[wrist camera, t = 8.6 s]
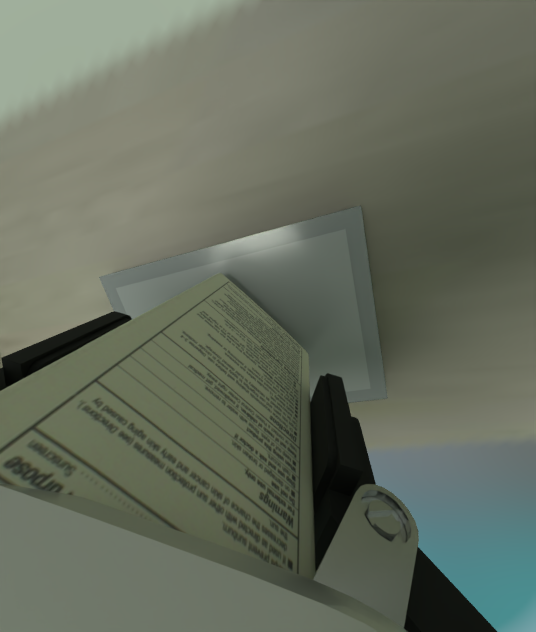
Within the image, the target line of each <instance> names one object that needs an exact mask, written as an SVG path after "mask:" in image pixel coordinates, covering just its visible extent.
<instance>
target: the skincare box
mask: <svg viewBox="0 0 536 632" xmlns="http://www.w3.org/2000/svg"><path fill="white" fill-rule="evenodd" d="M0 483H1V484H8V485H14V486H20V487H26V488H33V489H39V490H44V491H50V492H56V493H62V494H68V495H74V496H80V497H83V498H85V499H88V500H91V501H94V502H97V503H100V504H103V505H106V506H109V507H111V508H114V509H117V510H120V511H123V512H126V513H129V514H132V515H135V516H137V517H140V518H143V519H146V520H149V521H152V522H155V523H157V524H160V525H163V526H166V527H169V528H172V529H174V530H177V531H180V532H183V533H186V534H189V535H192V536H194V537H197V538H200V539H203V540H206V541H209V542H211V543H214V544H217V545H220V546H223V547H226V548H228V549H231V550H234V551H237V552H240V553H243V554H245V555H248V556H251V557H253V558H256V559H259V560H261V561H264V562H267V563H269V564H272V565H275V566H277V567H280V568H283V569H285V570H288V571H291V572H293V573H296V574H299V575H301V576H304V577H307V578H309V579H313V577H314V575H315V573H316V569H315V534H314V506H313V475H312V443H311V414H310V384H309V356H308V353H307V352H306V350H304V349H303V348H302V347H301V346H300V345H299V344H298V343H297V342H296V341H295V340H294V339H293V338H292V337H291V336H290V335H289V334H288V333H287V332H286V331H285V330H284V329H283V328H282V327H281V326H280V325H279V324H278V323H277V322H276V321H275V320H273V319H272V318H271V317H270V316H269V315H268V314H267V313H266V312H265V311H264V310H263V309H261V308H260V307H259V306H258V305H257V304H256V303H255V302H254V301H253V300H252V299H250V298H249V297H248V296H247V295H246V294H245V293H244V292H243V291H241V290H240V289H239V288H238V287H237V286H236V285H235V284H233V283H232V282H231V281H230V280H229V279H228V278H226V277H225V276H224V275H223V274H222V273H218V274H216V275H214V276H212V277H210V278H208V279H207V280H205V281H203V282H201V283H199V284H197V285H195V286H194V287H192V288H190V289H188V290H186V291H184V292H182V293H181V294H179V295H177V296H175V297H173V298H171V299H169V300H167V301H165V302H164V303H162V304H160V305H159V306H156V307H154V308H153V309H151V310H149V311H147V312H145V313H144V314H142V315H140V316H138V317H136V318H134V319H132V320H130V321H129V322H127V323H125V324H123V325H121V326H119V327H117V328H116V329H114V330H112V331H110V332H108V333H106V334H105V335H103V336H101V337H99V338H97V339H95V340H94V341H92V342H90V343H88V344H86V345H84V346H83V347H81V348H79V349H78V350H76V351H74V352H72V353H70V354H68V355H66V356H65V357H63V358H61V359H59V360H57V361H55V362H53V363H52V364H50V365H48V366H46V367H44V368H42V369H40V370H39V371H37V372H35V373H33V374H31V375H29V376H27V377H26V378H24V379H22V380H20V381H18V382H16V383H14V384H13V385H11V386H9V387H7V388H5V389H3V390H1V391H0Z"/></svg>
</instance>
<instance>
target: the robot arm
mask: <svg viewBox="0 0 536 632" xmlns="http://www.w3.org/2000/svg"><path fill="white" fill-rule="evenodd" d="M130 320H132V318H131V316H130V315H126V314H123V313H120V312H116V311H114V312H111V313H109V314H106V315H104V316H101V317H99V318H97V319H94V320H92V321H89V322H87V323H84V324H82V325H80V326H77V327H75V328H72V329H70V330H68V331H65V332H63V333H60V334H58V335H56V336H53V337H51V338H48V339H46V340H44V341H41V342H39V343H36V344H34V345H31V346H29V347H27V348H24V349H22V350H19V351H17V352H15V353H12V354H10V355H7V356H5V357H3V358H2V364H3V368H1V369H0V391H1V390H3V389H5V388H7V387H9V386H11V385H13V384H14V383H16V382H18V381H20V380H22V379H24V378H26V377H27V376H29V375H31V374H33V373H35V372H37V371H39V370H40V369H42V368H44V367H46V366H48V365H50V364H52V363H53V362H55V361H57V360H59V359H61V358H63V357H65V356H66V355H68V354H70V353H72V352H74V351H76V350H78V349H79V348H81V347H83V346H84V345H86V344H88V343H90V342H92V341H94V340H95V339H97V338H99V337H101V336H103V335H105V334H106V333H108V332H110V331H112V330H114V329H116V328H117V327H119V326H121V325H123V324H125V323H127V322H129V321H130ZM310 414H311V443H312V475H313V506H314V534H315V569H316V573H315V575H314V577H313V579H309V578H307V577H304V576H301V575H299V574H296V573H293V572H291V571H288V570H285V569H283V568H280V567H277V566H275V565H272V564H269V563H267V562H264V561H261V560H259V559H256V558H253V557H251V556H248V555H245V554H243V553H240V552H237V551H234V550H231V549H228V548H226V547H223V546H220V545H217V544H214V543H211V542H209V541H206V540H203V539H200V538H197V537H194V536H192V535H189V534H186V533H183V532H180V531H177V530H174V529H172V528H169V527H166V526H163V525H160V524H157V523H155V522H152V521H149V520H146V519H143V518H140V517H137V516H135V515H132V514H129V513H126V512H123V511H120V510H117V509H114V508H111V507H109V506H106V505H103V504H100V503H97V502H94V501H91V500H88V499H85V498H83V497H80V496H74V495H68V494H62V493H56V492H50V491H44V490H39V489H33V488H26V487H20V486H14V485H8V484H1V483H0V632H497V631H496V630H495V629H494V628H493V627H492V626H491V624H490V623H488V621H487V620H486V619H485V618H484V617H483V616H482V615H481V614H480V613H479V612H478V611H477V610H476V608H475V607H474V606H473V605H472V604H471V603H470V602H469V601H468V600H467V599H466V598H465V597H464V596H463V595H462V594H461V592H460V591H459V590H458V589H457V588H456V587H455V586H454V585H453V584H452V583H451V582H450V581H449V580H448V578H447V577H446V576H445V575H444V574H443V573H442V572H441V571H440V570H439V569H438V568H437V567H436V566H435V565H434V564H433V562H432V561H431V560H430V559H429V558H428V557H427V556H426V555H425V554H424V553H423V552H422V551H421V550H420V549H419V548H418V541H419V539H418V529H417V526H416V523H415V520H414V518H413V517H412V515H411V513H410V511H409V510H408V509H407V507H406V506H405V505H404V504H403V502H402V501H401V500H400V499H398V498H397V497H396V496H395V495H394V494H393V493H391V492H390V491H388V490H387V489H385V488H383V487H380V486H378V485H376V484H375V480H374V476H373V472H372V469H371V465H370V461H369V457H368V453H367V449H366V446H365V442H364V438H363V434H362V431H361V427H360V423H359V421H358V419H357V418H355V417H351V414H350V410H349V405H348V401H347V397H346V392H345V388H344V383H343V379H342V377H339V376H336V375H333V374H329V373H327V374H326V375H325V376H322V375H321V376H320V377H319V380H318V382H317V385H316V388H315V391H314V393H313V396H312V399H311V402H310Z"/></svg>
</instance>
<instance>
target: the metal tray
mask: <svg viewBox="0 0 536 632" xmlns="http://www.w3.org/2000/svg"><path fill="white" fill-rule="evenodd" d="M218 273H222V274H223V275H224V276H225V277H226V278H228V279H229V280H230V281H231V282H232V283H233V284H235V285H236V286H237V287H238V288H239V289H240V290H241V291H243V292H244V293H245V294H246V295H247V296H248V297H249V298H250V299H252V300H253V301H254V302H255V303H256V304H257V305H258V306H259V307H260V308H261V309H263V310H264V311H265V312H266V313H267V314H268V315H269V316H270V317H271V318H272V319H273V320H275V321H276V322H277V323H278V324H279V325H280V326H281V327H282V328H283V329H284V330H285V331H286V332H287V333H288V334H289V335H290V336H291V337H292V338H293V339H294V340H295V341H296V342H297V343H298V344H299V345H300V346H301V347H302V348H303V349H304V350H306V352H307V353H308V356H309V384H310V402H311V399H312V396H313V393H314V391H315V388H316V385H317V382H318V380H319V377H320V376H321V375H322V376H325V375H326V374H327V373H329V374H333V375H336V376H339V377H342V379H343V383H344V388H345V392H346V397H347V401H348V403H351V402H359V401H368V400H377V399H386V398H387V391H386V383H385V376H384V369H383V362H382V354H381V347H380V340H379V333H378V325H377V318H376V311H375V304H374V296H373V289H372V282H371V275H370V267H369V260H368V253H367V246H366V238H365V231H364V224H363V217H362V209H361V205H360V206H357V207H353V208H349V209H346V210H342V211H338V212H335V213H331V214H327V215H324V216H320V217H317V218H313V219H309V220H306V221H302V222H298V223H295V224H291V225H287V226H284V227H280V228H276V229H273V230H269V231H265V232H262V233H258V234H254V235H251V236H247V237H243V238H240V239H236V240H232V241H229V242H225V243H222V244H218V245H214V246H211V247H207V248H203V249H200V250H196V251H192V252H189V253H185V254H181V255H178V256H174V257H170V258H167V259H163V260H159V261H156V262H152V263H148V264H145V265H141V266H137V267H134V268H130V269H127V270H123V271H119V272H116V273H112V274H108V275H105V276H101V277H99V278H100V280H101V282H102V285H103V287H104V289H105V292H106V294H107V296H108V298H109V301H110V303H111V305H112V307H113V310H114V311H116V312H120V313H123V314H126V315H130V316H131V318H132V319H134V318H136V317H138V316H140V315H142V314H144V313H145V312H147V311H149V310H151V309H153V308H154V307H156V306H159V305H160V304H162V303H164V302H165V301H167V300H169V299H171V298H173V297H175V296H177V295H179V294H181V293H182V292H184V291H186V290H188V289H190V288H192V287H194V286H195V285H197V284H199V283H201V282H203V281H205V280H207V279H208V278H210V277H212V276H214V275H216V274H218Z"/></svg>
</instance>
